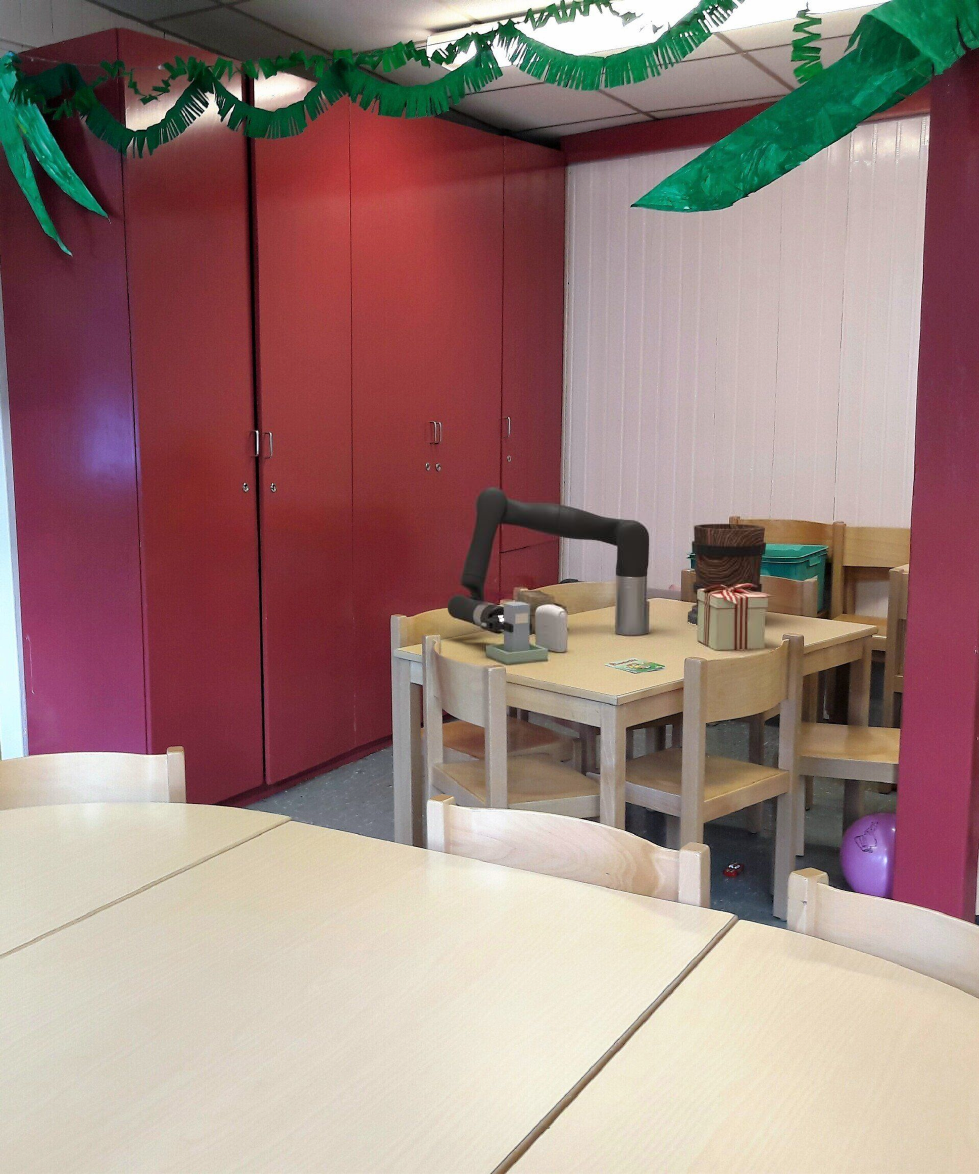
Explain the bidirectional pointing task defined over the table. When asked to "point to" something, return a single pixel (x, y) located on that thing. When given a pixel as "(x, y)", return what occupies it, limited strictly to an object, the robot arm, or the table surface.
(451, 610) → the robot arm
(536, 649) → the tray
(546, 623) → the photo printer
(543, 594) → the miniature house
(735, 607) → the gift box
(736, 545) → the wooden barrel
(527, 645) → the box
